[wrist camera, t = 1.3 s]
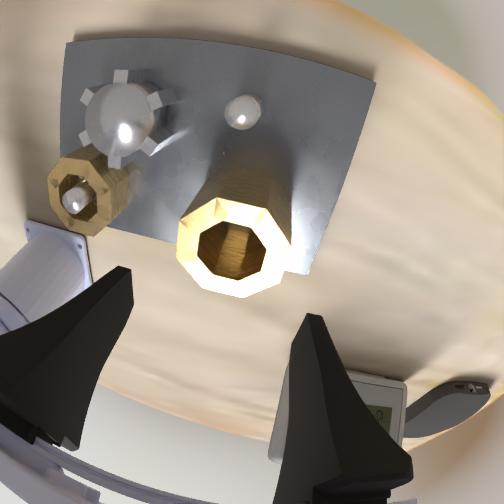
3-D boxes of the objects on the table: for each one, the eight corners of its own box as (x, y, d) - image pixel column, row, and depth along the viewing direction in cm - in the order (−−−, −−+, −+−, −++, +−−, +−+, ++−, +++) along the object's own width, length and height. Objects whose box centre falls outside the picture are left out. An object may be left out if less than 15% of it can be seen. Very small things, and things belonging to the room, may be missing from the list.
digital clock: (411, 379, 30) (425, 456, 21) (360, 409, 35) (364, 478, 26) (312, 336, 27) (313, 443, 18) (261, 377, 31) (250, 464, 23)
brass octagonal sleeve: (275, 253, 21) (271, 304, 17) (197, 234, 21) (174, 280, 16) (298, 180, 17) (301, 218, 13) (208, 158, 17) (182, 190, 13)
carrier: (307, 268, 22) (308, 306, 19) (70, 211, 22) (43, 236, 18) (372, 82, 14) (395, 85, 11) (73, 42, 14) (35, 44, 10)
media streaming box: (380, 423, 38) (382, 439, 36) (443, 376, 30) (448, 395, 27) (437, 424, 39) (440, 437, 37) (494, 381, 31) (499, 396, 29)
